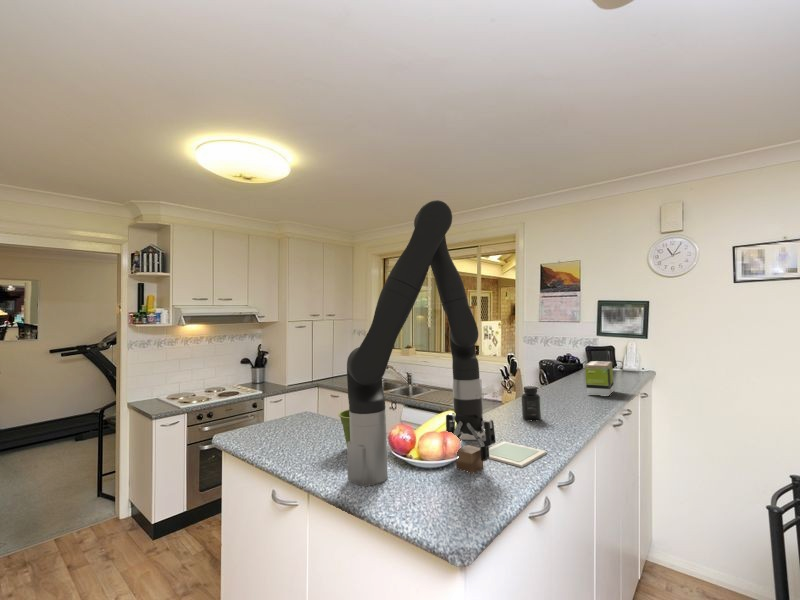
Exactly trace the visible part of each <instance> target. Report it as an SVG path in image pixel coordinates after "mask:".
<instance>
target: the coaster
mask: <svg viewBox="0 0 800 600" xmlns="http://www.w3.org/2000/svg"><path fill="white" fill-rule="evenodd" d="M547 452H548V451H546V450H543V449H538V448H534V447H530V446H526V445H521V444H517V443H513V442H508V441H504V440H503V441H501V442H499V443H497V444H496V443H495V445H494V444H493V446H489V458H488V459H490V460H494V461H496V462H500V463H504V464H508V465H511V466H514V467H519V468H523V467H525V466H527V465H529V464H531V463H533V462H534V461H536V460H537V459H539V458H541V457H543V456H544V455H545V456H546V454H547Z"/></svg>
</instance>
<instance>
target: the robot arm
mask: <svg viewBox="0 0 800 600" xmlns="http://www.w3.org/2000/svg"><path fill="white" fill-rule="evenodd" d="M452 223H453V212H452V209H451V207H450V206H449V205H448V204H447V203H446V202H444V201H443V200H438V199H437V200H431V201H429V202H426V203H425V204H423V205H422V206H421V208H420V209H419V210H418V212H417V213H416V214H415V218H414V221H413V227H414V229H413V231H412V233H411V237H410V239H409V242H408V243H407V245H406V247H405V248H404V250H403V251H402V253H401V254H400V256H399V257H398V259H397V260H396V262H395V264H394V265H393V267H392V269H391V271H390V273H389V274H388V276H387V279H386V280H385V282H384V284H383V287H382V289H381V291H380V293H379V297H378V300H377V302H376V306H375V310H374V314H373V317H372V322H371V325H370V327H369V330H368V331H367V333H366V335H365V336H364V339H362V340H363V341H362V342H361V343H360V345H359V347H356V348H354V349H353V350H352V351H351V352H350V353H349V355H348V357H347V360H346V361H347V362H346V380H347V401H348V410H349V415H350V441H349V442H347V444H346V453H347V454H346V457H347V480H348V481H349V482H350V483H353V484H356V485H358V486H361V487H367V486H375V485H378V484H381V483H384V482H386V480H388V447H387V419H386V418H387V417H386V415H387V414H386V397H385V394H384V389H383V388H384V386H383V376H384V375H385V372H386V370H387V367H388V363H389V361H390V358H391V355H392V352H393V349H394V347H395V343H396V341H397V339H398V337H399V334H400V333H401V330H403V328H404V325H405V323H406V321H407V320H408V318H409V315H410V313H411V311H412V310H413V307H414V305H415V303H416V302H417V299H418V297H419V295H420V293H421V289H422V287H423V285H424V283H425V280H426V277H427V275H428V272H429V269H430V268H431V271H432V274H433V279H434V281H435V285H436V288H437V292H438V296H439V300H440V303H441V305H442V309H443V311H444V313H445V315H446V317H447V322H448V326H449V328H450V329H449V331H448V332H449V334H448V335H449V343H450V344H449V345H450V352H451V358H452V397H453V412H451V413H449V414H446V415H445V432H446V431H448V432H452V433H453V434H454V435H456V436H457V437H458V438H459V439H460V441H461V442H462V439H461V435H462V433H464V434H469V435H473V436H474V437H475V439H477V440H476V441H478V443H479V444H480V447H479V448H480V452H481V461H483V462H486V461H487V460H488V459H489V448H490V447H491V445H494V444H496V434H495V424H494V420H492V419H488V420H484V417H483V418H482V412H483V413H484V411H483V410H484V408H483V409H482V404H483V392H482V393H481V384H480V379H481V378H480V367H479V366H480V364H479V359H478V358H477V355H476V343H477V342H478V339H479V329H478V326H477V322H476V319H475V317H474V314H473V312H472V309H471V308H470V305H469V301H468V296H467V292H466V289H465V286H464V282H463V280H462V277H461V275H460V273H459V271H458V269H457V267H456V265H455V263H454V262H453V259H452V258H451V254H450V251H449V249H448V245H447V240H446V239H447V238H446V234H447V233H448V231H449V230H450V228H451V227H452ZM482 426H483V428H484V429H483V428H482ZM478 432H480V434H478Z"/></svg>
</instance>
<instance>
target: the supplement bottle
mask: <svg viewBox="0 0 800 600" xmlns="http://www.w3.org/2000/svg"><path fill="white" fill-rule="evenodd" d="M520 397H521V399H520V400H521V413H522V414H521V415H522V416H521V417H522V419H523V420H524V419H525V421H527V420H532V421H531V422H537V421H536V420H539V421H541V420H542V404H541V403H542V401H541V396H540V395H539V394H538V387H537V386H532V385H527V386H523V394H522V395H521V396H520Z"/></svg>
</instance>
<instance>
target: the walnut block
mask: <svg viewBox="0 0 800 600" xmlns="http://www.w3.org/2000/svg"><path fill="white" fill-rule="evenodd" d="M457 456H459V458H458V459H456V458H455V462H456V469H457V468H459V469H458V470H460V469H461V471H463V470H465V471H464V472H466V471H468V472H467V473H469V472H470V474H474V473H476V472H478V471H480V470H481V469H483V468H484V461H481V452H480V447H478V446H473V445H468V444H466V445H464V446H461V448H460V449H459V450H458V452H457ZM477 470H478V471H477ZM473 472H474V473H473Z"/></svg>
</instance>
